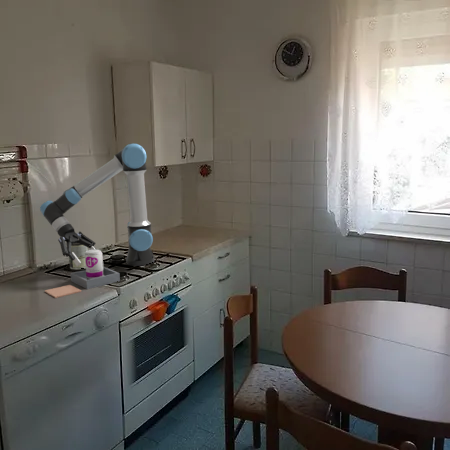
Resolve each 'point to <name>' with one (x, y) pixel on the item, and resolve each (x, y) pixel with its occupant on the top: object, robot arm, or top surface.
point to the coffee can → (78, 255)
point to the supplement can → (94, 264)
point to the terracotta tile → (62, 291)
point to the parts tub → (108, 278)
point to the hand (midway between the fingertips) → (89, 261)
